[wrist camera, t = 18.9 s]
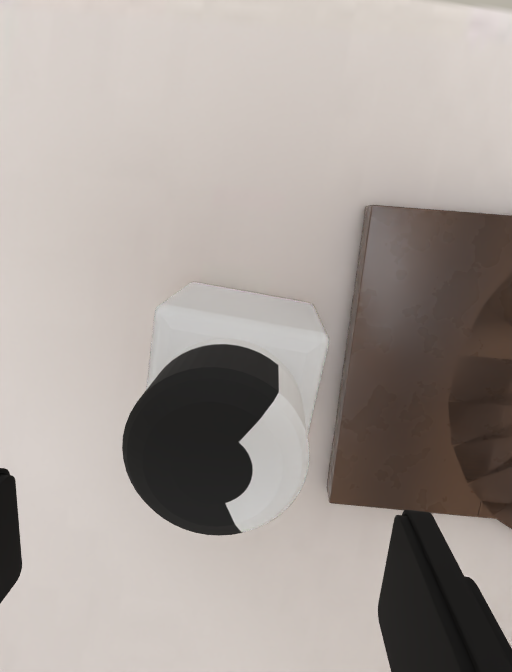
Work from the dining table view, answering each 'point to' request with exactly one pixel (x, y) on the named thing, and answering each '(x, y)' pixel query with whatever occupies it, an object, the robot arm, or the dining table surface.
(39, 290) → the dining table surface
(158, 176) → the dining table surface
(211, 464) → the medicine bottle
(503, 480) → the holder board
